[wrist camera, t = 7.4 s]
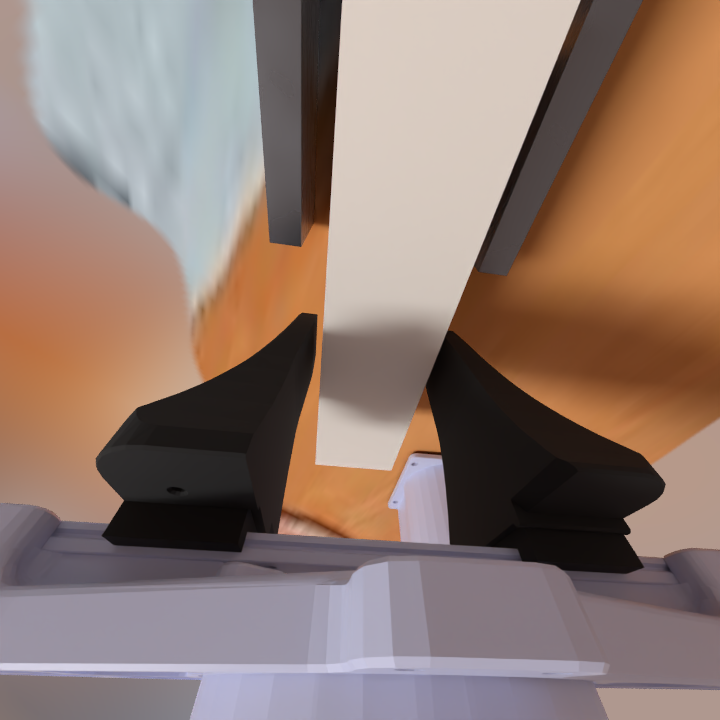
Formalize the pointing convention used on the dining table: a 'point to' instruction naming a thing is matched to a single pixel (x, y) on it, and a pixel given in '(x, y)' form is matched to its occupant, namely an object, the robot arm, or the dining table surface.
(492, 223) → the u-shaped bracket
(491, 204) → the rail
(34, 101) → the dining table surface
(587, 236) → the dining table surface
